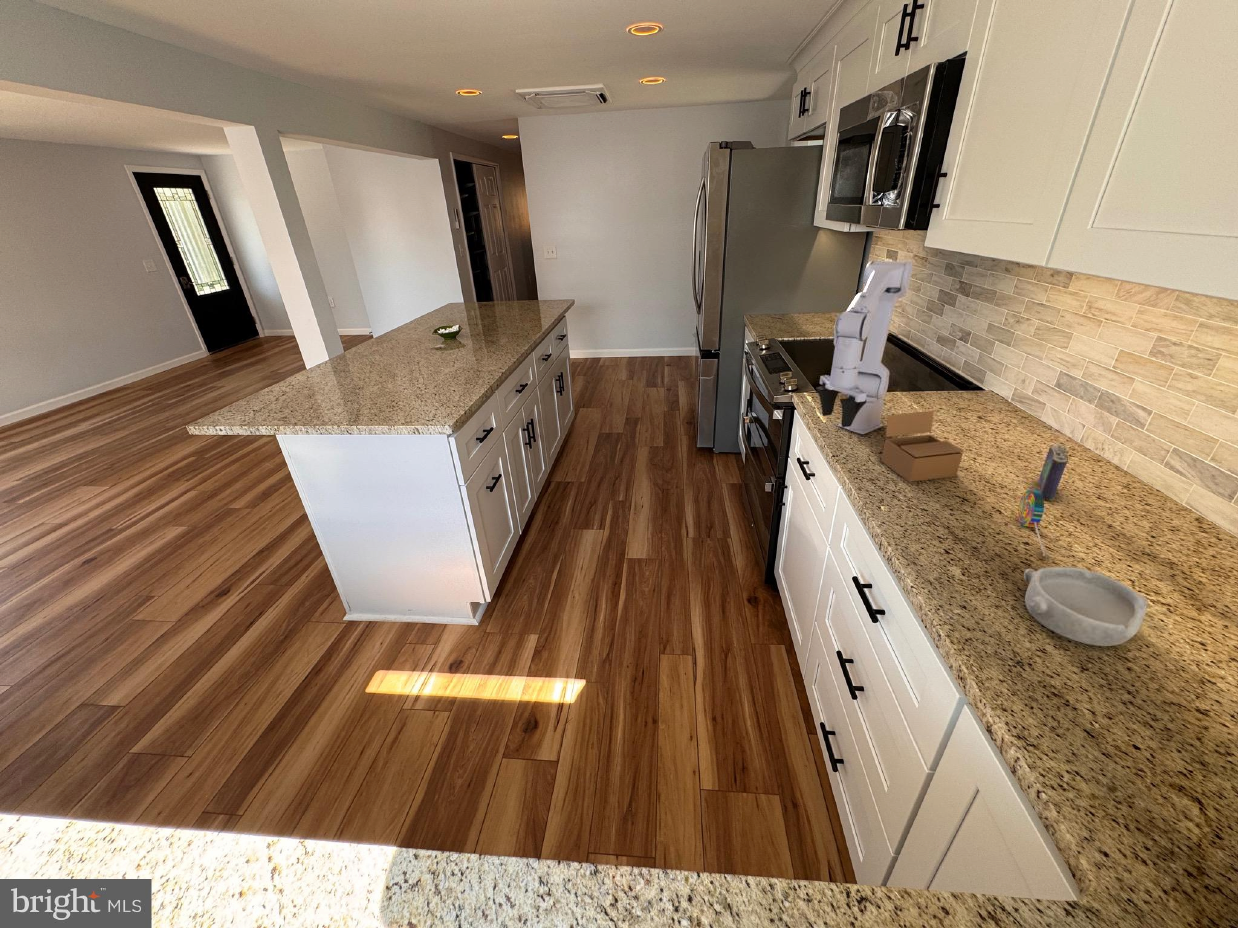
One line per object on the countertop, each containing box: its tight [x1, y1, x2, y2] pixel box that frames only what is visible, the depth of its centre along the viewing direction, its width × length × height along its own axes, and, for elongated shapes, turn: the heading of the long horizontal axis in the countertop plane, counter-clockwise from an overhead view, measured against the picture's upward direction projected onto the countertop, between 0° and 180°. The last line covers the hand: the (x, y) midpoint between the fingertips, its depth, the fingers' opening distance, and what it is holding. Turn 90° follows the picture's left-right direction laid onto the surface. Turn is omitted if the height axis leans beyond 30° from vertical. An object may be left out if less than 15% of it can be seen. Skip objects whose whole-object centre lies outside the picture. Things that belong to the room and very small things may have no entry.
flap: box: [885, 410, 934, 438], centre depth 123 cm, size 5×12×1 cm
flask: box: [1036, 444, 1070, 501], centre depth 108 cm, size 9×3×11 cm, turn 147°
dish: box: [1023, 566, 1149, 647], centre depth 77 cm, size 14×14×5 cm
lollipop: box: [1017, 489, 1046, 557], centre depth 96 cm, size 7×2×15 cm
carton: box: [880, 434, 964, 483], centre depth 120 cm, size 11×12×7 cm
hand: (836, 420), depth 123 cm, fingers open, 7 cm apart
